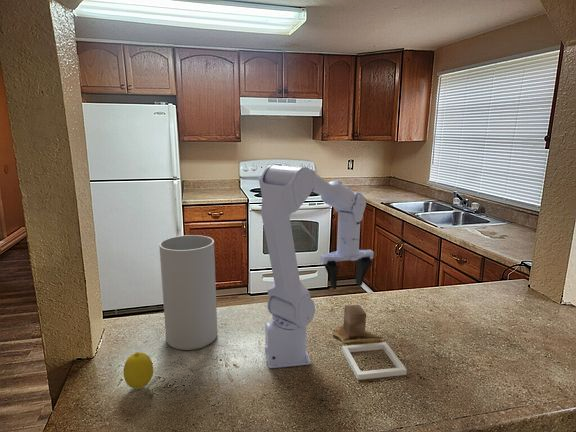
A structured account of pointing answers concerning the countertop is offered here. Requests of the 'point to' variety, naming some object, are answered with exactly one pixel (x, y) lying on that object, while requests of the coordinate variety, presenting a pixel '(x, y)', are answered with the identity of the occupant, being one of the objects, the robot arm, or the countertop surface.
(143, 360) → the lemon
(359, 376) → the white flat square frame
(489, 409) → the countertop surface
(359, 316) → the walnut block
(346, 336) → the shard
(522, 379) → the countertop surface
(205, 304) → the cylinder vase
